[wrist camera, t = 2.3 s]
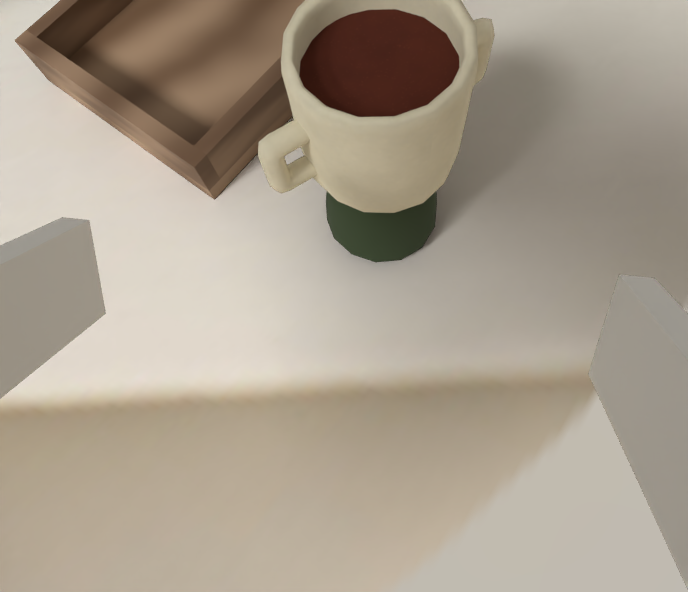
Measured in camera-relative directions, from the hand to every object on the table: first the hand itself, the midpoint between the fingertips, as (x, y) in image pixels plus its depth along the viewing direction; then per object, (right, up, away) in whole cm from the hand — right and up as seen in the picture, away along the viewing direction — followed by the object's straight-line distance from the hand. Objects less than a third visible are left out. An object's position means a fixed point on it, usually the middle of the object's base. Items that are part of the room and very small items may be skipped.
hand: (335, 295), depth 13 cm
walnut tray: (-9, +16, +22) cm, 29 cm away
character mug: (+2, +4, +17) cm, 18 cm away
